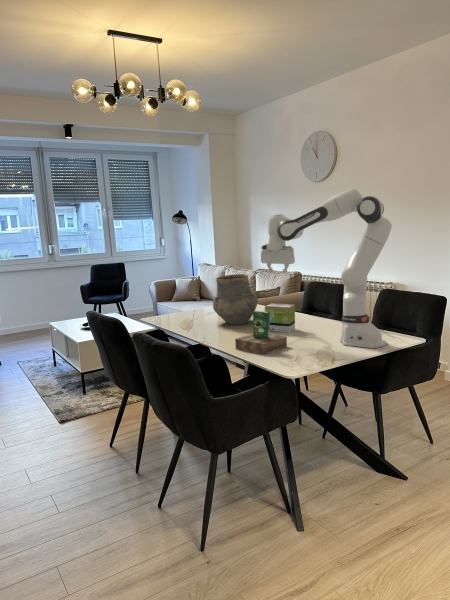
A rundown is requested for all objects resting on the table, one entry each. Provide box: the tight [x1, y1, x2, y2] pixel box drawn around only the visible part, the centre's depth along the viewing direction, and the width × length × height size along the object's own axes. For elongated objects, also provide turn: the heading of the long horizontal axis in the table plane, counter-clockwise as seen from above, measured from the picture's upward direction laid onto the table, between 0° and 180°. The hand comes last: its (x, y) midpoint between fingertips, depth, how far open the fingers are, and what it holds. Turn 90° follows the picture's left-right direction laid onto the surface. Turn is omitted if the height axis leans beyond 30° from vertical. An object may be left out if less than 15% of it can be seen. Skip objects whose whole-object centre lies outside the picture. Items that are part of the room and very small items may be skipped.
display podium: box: [234, 333, 288, 355], centre depth 226 cm, size 18×18×5 cm
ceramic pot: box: [212, 273, 259, 326], centre depth 286 cm, size 28×28×30 cm
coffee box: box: [252, 310, 270, 338], centre depth 224 cm, size 8×3×13 cm, turn 66°
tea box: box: [264, 302, 296, 334], centre depth 261 cm, size 15×10×15 cm
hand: (277, 272), depth 242 cm, fingers open, 8 cm apart
